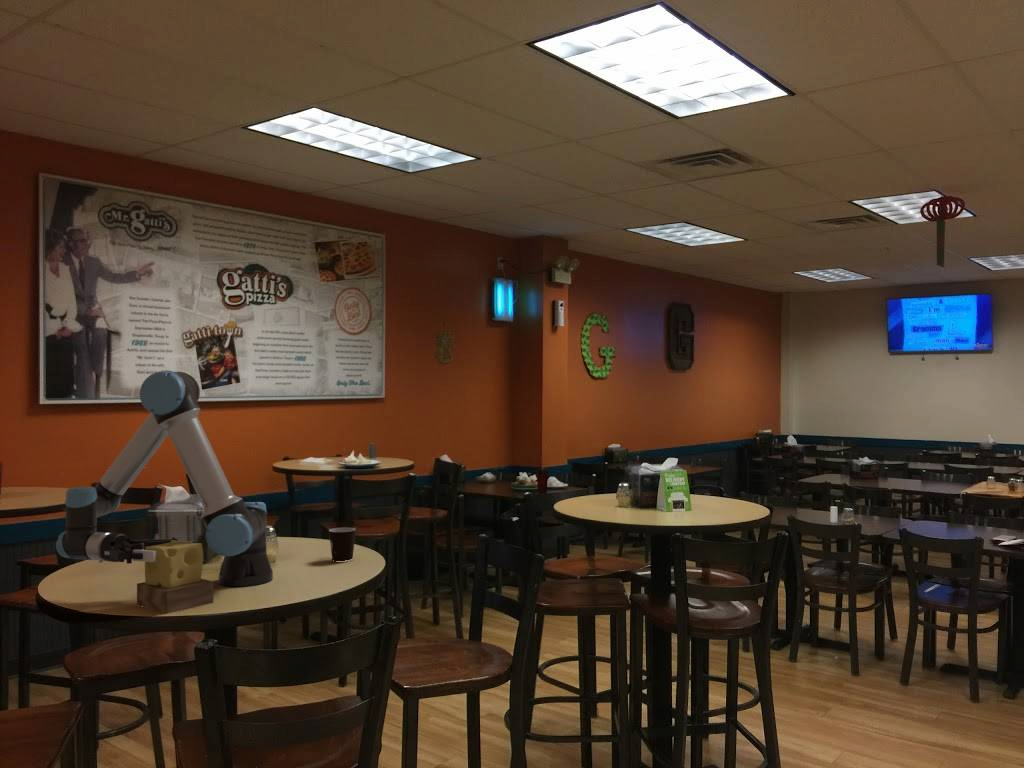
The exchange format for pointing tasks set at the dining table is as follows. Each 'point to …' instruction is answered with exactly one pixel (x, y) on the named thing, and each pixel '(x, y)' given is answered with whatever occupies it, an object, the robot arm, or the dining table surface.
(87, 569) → the dining table surface
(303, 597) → the dining table surface
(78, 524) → the robot arm
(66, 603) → the dining table surface
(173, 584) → the cheese
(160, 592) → the walnut block
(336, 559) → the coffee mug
